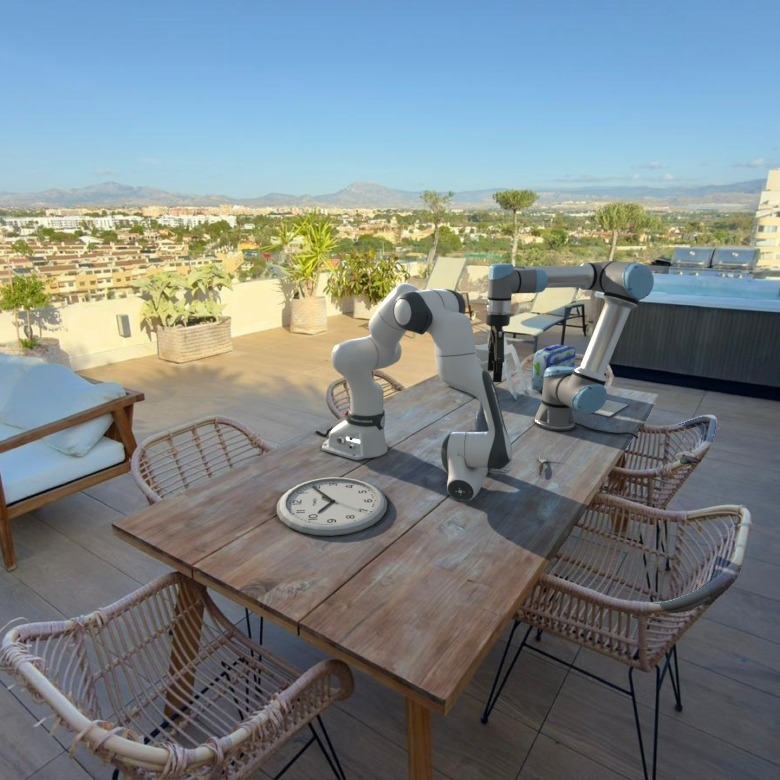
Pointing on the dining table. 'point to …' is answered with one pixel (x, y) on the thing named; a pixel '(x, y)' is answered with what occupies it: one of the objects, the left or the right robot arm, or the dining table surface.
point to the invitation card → (610, 408)
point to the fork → (542, 461)
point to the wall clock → (331, 506)
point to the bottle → (480, 421)
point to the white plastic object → (508, 355)
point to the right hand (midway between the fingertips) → (494, 376)
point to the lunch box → (550, 362)
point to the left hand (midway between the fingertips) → (482, 449)
